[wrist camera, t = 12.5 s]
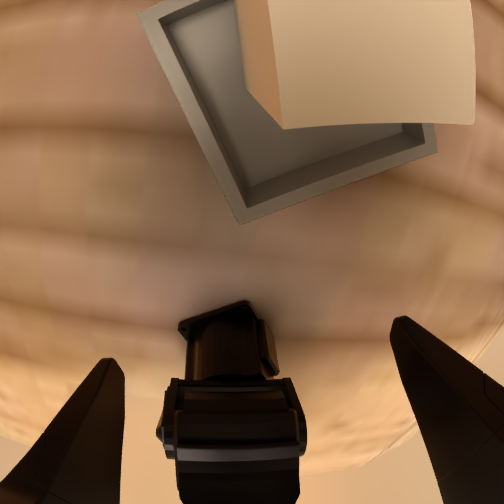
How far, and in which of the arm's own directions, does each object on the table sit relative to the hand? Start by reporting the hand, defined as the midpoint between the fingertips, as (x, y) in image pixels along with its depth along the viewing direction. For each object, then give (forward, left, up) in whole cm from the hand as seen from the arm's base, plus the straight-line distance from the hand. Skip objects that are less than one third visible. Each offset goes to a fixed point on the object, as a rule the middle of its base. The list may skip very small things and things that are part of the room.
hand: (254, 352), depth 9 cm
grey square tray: (+6, +5, -13) cm, 15 cm away
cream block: (+6, +7, -12) cm, 15 cm away
